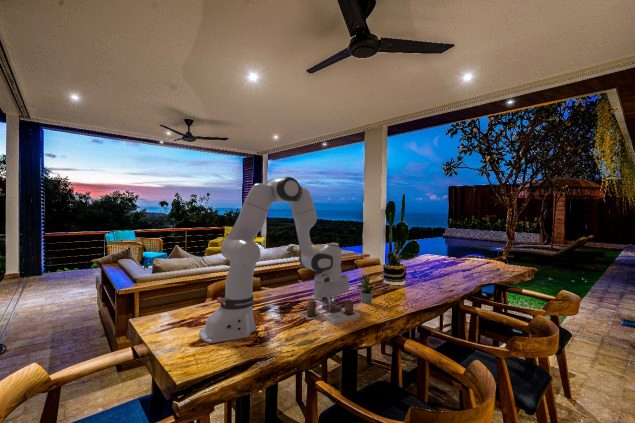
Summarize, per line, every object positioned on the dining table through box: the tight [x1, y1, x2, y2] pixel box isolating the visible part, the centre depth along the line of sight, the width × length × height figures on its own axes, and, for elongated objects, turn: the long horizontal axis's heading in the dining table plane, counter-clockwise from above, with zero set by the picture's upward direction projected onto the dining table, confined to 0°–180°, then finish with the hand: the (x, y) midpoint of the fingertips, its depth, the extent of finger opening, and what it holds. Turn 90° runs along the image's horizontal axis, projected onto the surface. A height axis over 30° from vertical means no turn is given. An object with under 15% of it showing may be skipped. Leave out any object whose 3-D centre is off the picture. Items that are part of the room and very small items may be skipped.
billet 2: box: [344, 299, 354, 316], centre depth 140 cm, size 4×4×7 cm
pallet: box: [323, 310, 361, 325], centre depth 138 cm, size 16×7×2 cm, turn 125°
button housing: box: [321, 303, 342, 314], centre depth 150 cm, size 7×7×2 cm
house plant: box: [355, 273, 379, 306], centre depth 164 cm, size 14×14×16 cm
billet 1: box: [306, 299, 317, 318], centre depth 141 cm, size 4×4×7 cm
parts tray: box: [298, 310, 326, 321], centre depth 141 cm, size 9×9×2 cm
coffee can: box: [313, 272, 333, 302], centre depth 169 cm, size 10×10×14 cm
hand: (331, 303), depth 150 cm, fingers closed, pressing on start button
